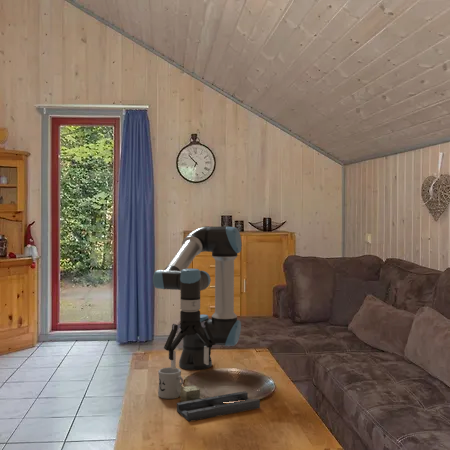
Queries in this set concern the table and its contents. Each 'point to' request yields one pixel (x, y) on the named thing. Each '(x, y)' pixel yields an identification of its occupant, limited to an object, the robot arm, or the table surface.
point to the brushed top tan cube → (190, 393)
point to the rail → (216, 406)
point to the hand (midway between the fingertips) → (190, 366)
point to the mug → (169, 383)
